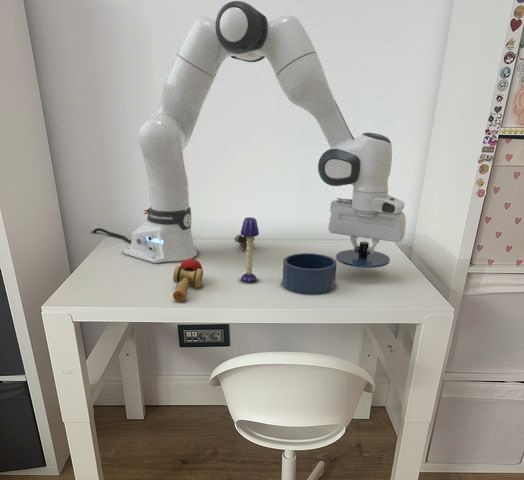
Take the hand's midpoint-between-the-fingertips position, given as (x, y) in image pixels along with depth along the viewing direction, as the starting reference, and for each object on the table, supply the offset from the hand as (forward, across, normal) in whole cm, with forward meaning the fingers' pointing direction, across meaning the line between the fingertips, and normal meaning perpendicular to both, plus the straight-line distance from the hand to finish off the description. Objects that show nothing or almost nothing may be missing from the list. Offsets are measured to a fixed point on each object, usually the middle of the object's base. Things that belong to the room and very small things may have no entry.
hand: (363, 253), depth 136 cm
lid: (+2, 0, 0) cm, 2 cm away
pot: (+6, -10, -14) cm, 18 cm away
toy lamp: (+6, -25, -19) cm, 32 cm away
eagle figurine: (+6, -40, +8) cm, 41 cm away
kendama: (+6, -36, -32) cm, 49 cm away
